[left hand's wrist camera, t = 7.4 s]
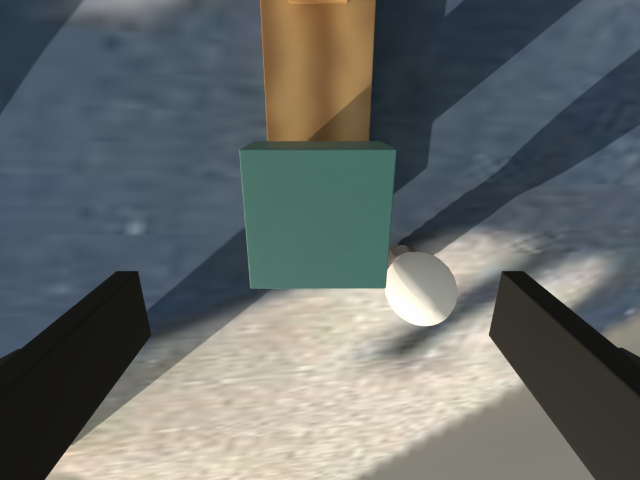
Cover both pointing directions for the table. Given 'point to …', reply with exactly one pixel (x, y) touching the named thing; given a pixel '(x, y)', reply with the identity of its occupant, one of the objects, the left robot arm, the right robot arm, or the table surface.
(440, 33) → the table surface
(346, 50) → the wooden block stand
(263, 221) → the teal green squarish block
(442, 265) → the light bulb
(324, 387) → the table surface
